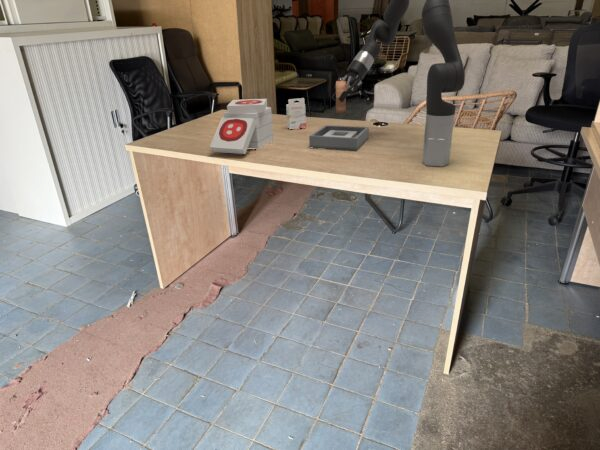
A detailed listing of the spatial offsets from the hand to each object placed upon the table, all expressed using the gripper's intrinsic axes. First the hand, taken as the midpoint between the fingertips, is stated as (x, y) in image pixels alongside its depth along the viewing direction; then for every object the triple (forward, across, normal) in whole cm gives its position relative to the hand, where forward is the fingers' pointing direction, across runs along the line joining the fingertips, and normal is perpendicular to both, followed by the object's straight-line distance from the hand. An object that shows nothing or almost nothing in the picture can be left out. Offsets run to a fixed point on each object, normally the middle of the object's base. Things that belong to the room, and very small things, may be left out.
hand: (337, 99), depth 171 cm
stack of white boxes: (+36, -21, -10) cm, 43 cm away
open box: (+12, 0, +14) cm, 18 cm away
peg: (+2, 0, +5) cm, 5 cm away
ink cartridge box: (+11, -36, +15) cm, 41 cm away
